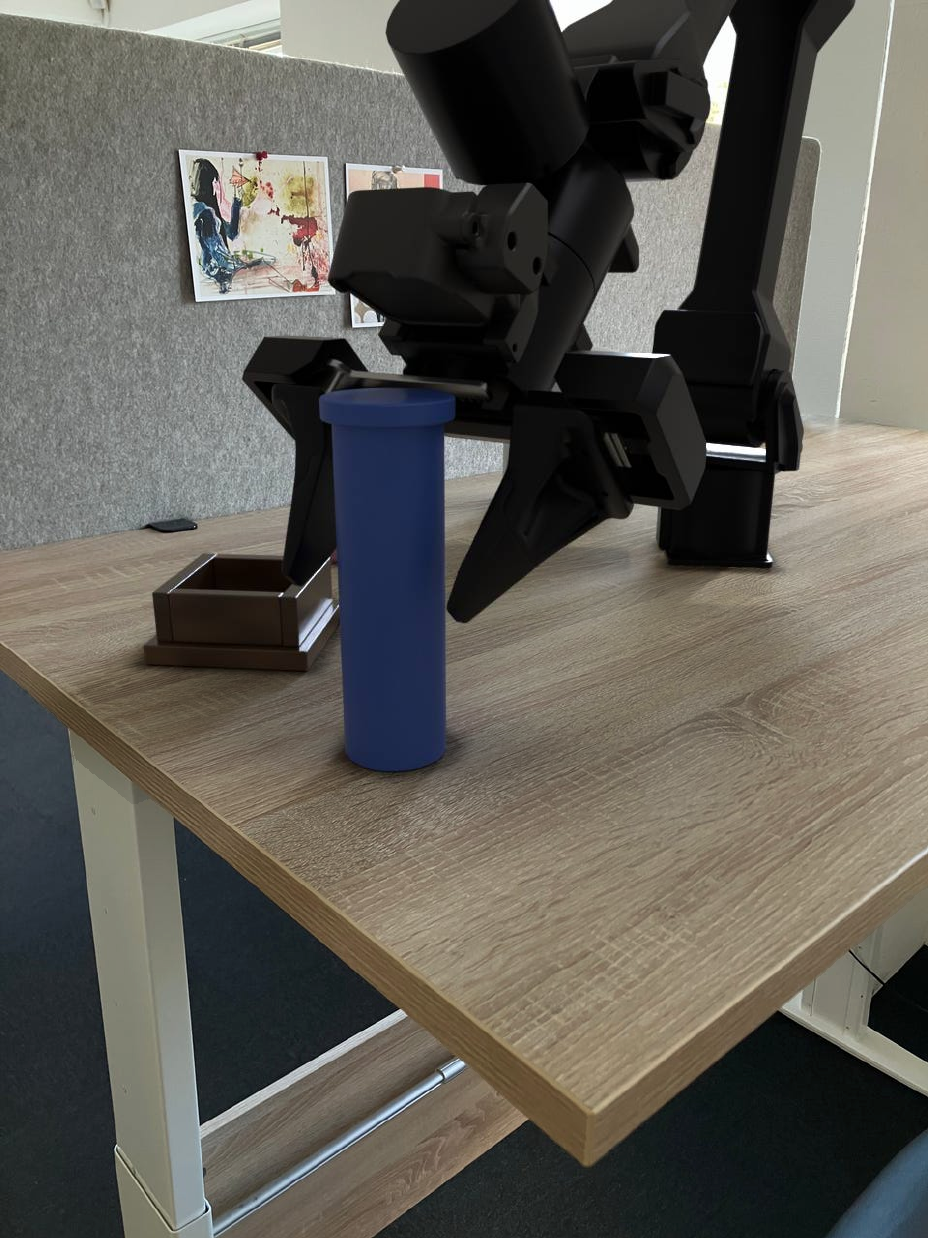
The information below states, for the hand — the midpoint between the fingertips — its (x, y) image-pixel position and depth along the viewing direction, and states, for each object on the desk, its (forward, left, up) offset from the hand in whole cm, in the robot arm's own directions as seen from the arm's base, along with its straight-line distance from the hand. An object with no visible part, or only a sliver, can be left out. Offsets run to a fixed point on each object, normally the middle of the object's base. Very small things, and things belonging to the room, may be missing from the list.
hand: (368, 598), depth 37 cm
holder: (+9, -13, -7) cm, 17 cm away
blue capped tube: (-1, -1, -7) cm, 7 cm away
